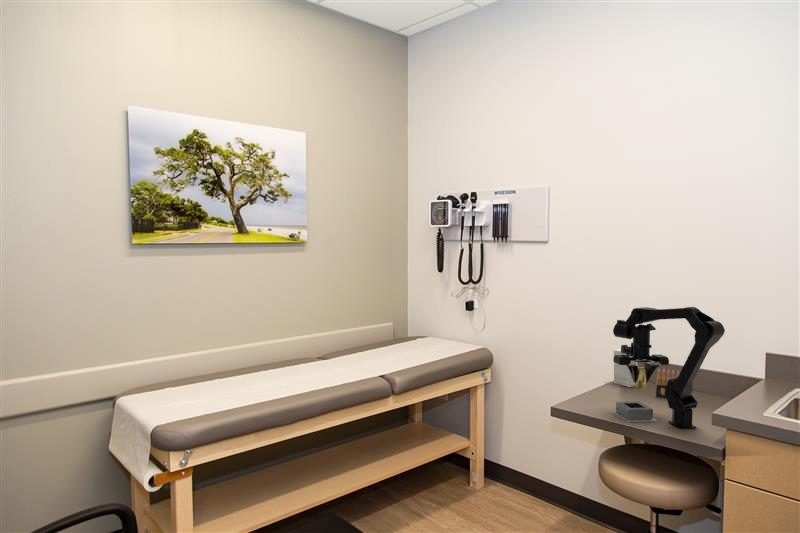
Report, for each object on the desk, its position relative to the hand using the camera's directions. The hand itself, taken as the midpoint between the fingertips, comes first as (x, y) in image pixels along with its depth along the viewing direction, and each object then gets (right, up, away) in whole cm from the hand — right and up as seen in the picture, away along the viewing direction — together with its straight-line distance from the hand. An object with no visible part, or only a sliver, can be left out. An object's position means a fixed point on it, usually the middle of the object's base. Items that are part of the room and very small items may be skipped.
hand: (640, 382), depth 197 cm
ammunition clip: (+21, -11, +20) cm, 31 cm away
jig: (-5, -12, -5) cm, 13 cm away
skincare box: (+11, -10, +40) cm, 43 cm away
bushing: (0, -2, 0) cm, 2 cm away
